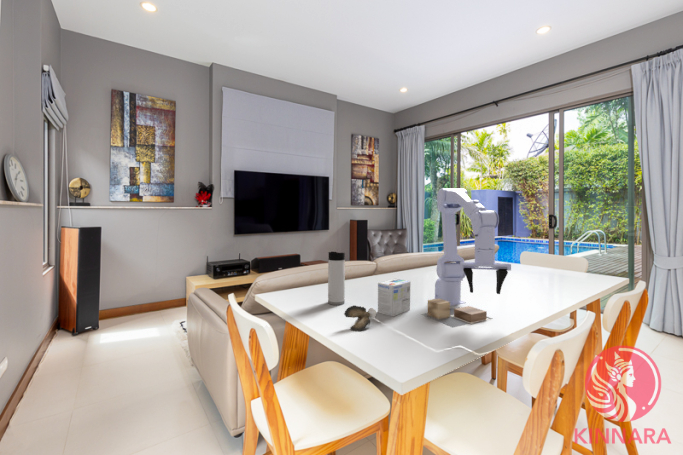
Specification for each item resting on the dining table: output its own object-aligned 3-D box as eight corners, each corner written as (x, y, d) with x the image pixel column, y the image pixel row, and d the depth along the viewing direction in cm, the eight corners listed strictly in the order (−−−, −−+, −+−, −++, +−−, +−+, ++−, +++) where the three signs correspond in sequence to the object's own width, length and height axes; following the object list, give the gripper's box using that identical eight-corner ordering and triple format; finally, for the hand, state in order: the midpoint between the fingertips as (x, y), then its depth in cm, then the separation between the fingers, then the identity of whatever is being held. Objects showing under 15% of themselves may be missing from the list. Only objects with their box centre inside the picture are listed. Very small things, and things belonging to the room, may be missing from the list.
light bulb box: (395, 307, 119) (395, 278, 118) (410, 311, 114) (411, 280, 114) (376, 313, 111) (377, 282, 111) (392, 318, 107) (393, 285, 106)
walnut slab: (454, 316, 108) (454, 308, 107) (468, 313, 111) (469, 306, 111) (471, 322, 101) (471, 314, 101) (486, 319, 105) (486, 311, 105)
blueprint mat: (420, 315, 109) (421, 314, 109) (459, 308, 118) (459, 307, 118) (454, 329, 97) (454, 327, 97) (494, 320, 105) (494, 318, 105)
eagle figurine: (353, 315, 105) (338, 318, 98) (365, 298, 104) (351, 299, 96) (369, 332, 101) (355, 336, 94) (382, 315, 100) (369, 318, 92)
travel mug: (325, 304, 122) (325, 251, 121) (332, 300, 128) (332, 249, 127) (340, 306, 119) (340, 252, 118) (346, 301, 125) (347, 250, 125)
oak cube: (427, 314, 109) (427, 300, 109) (438, 312, 111) (438, 298, 111) (438, 319, 104) (438, 303, 104) (449, 317, 107) (450, 302, 106)
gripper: (460, 249, 99) (460, 293, 99) (513, 250, 95) (513, 296, 95) (459, 248, 106) (459, 289, 106) (508, 248, 102) (508, 292, 102)
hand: (484, 292), depth 101 cm, fingers open, 7 cm apart
